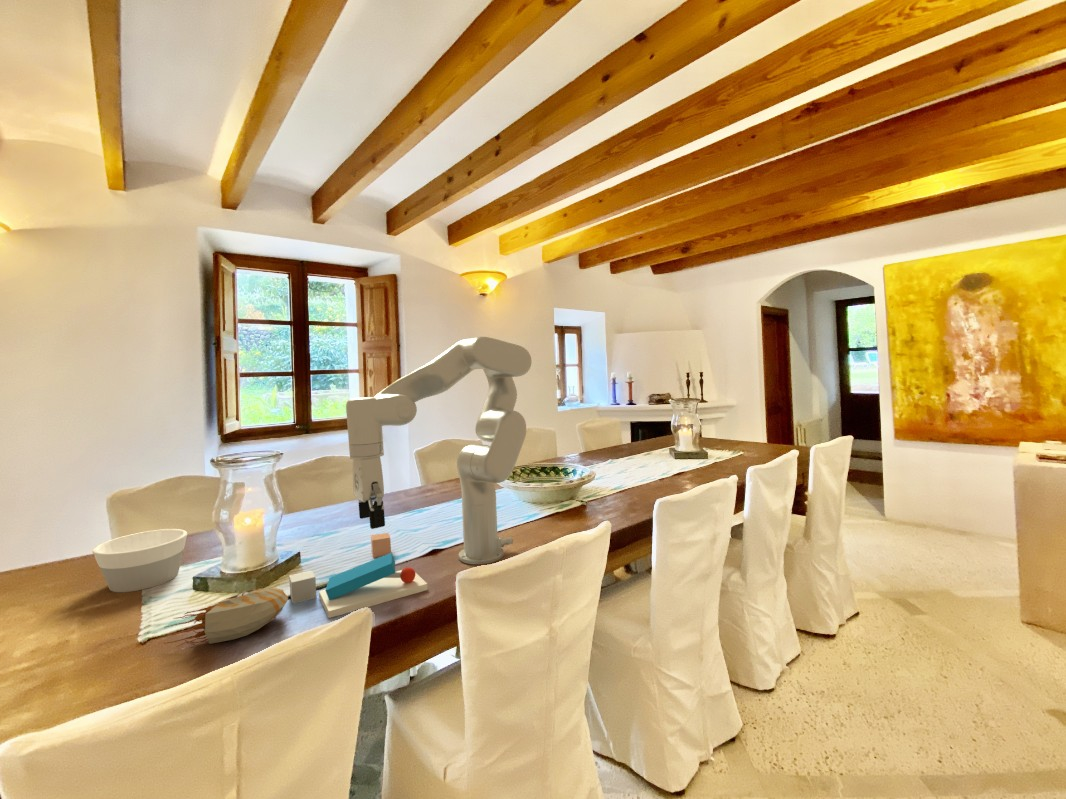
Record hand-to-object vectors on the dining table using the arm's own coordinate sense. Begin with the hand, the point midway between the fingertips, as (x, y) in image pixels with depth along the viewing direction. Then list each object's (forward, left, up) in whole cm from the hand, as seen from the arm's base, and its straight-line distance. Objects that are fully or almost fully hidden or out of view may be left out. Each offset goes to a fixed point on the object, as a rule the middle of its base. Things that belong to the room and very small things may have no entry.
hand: (372, 522), depth 112 cm
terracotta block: (-9, -26, -17) cm, 32 cm away
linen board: (0, 0, -17) cm, 17 cm away
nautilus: (+29, 0, -17) cm, 34 cm away
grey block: (+14, -9, -17) cm, 24 cm away
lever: (+1, 0, -16) cm, 16 cm away
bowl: (+47, -46, -17) cm, 68 cm away
